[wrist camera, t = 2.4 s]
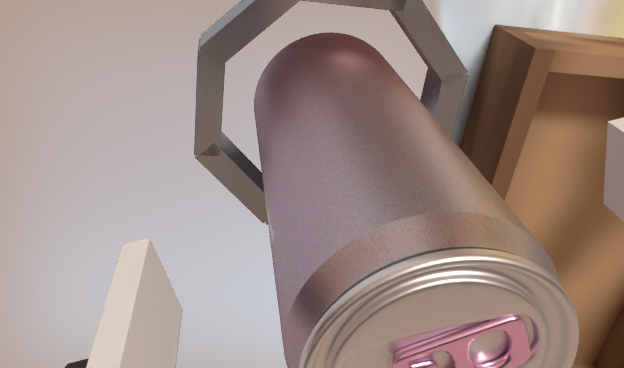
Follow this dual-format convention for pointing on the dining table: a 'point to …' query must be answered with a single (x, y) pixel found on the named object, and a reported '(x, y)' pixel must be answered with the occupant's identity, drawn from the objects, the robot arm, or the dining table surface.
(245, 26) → the collar
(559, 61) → the crate
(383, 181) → the beverage can
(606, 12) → the dining table surface
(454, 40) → the dining table surface
